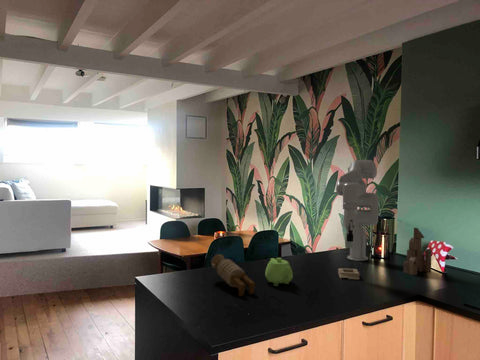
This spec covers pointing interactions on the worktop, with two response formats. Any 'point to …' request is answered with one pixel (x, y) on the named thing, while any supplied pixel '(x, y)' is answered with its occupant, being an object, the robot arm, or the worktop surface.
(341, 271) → the tan rectangular frame
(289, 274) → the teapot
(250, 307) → the worktop surface
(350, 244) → the dowel
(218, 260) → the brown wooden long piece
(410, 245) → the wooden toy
